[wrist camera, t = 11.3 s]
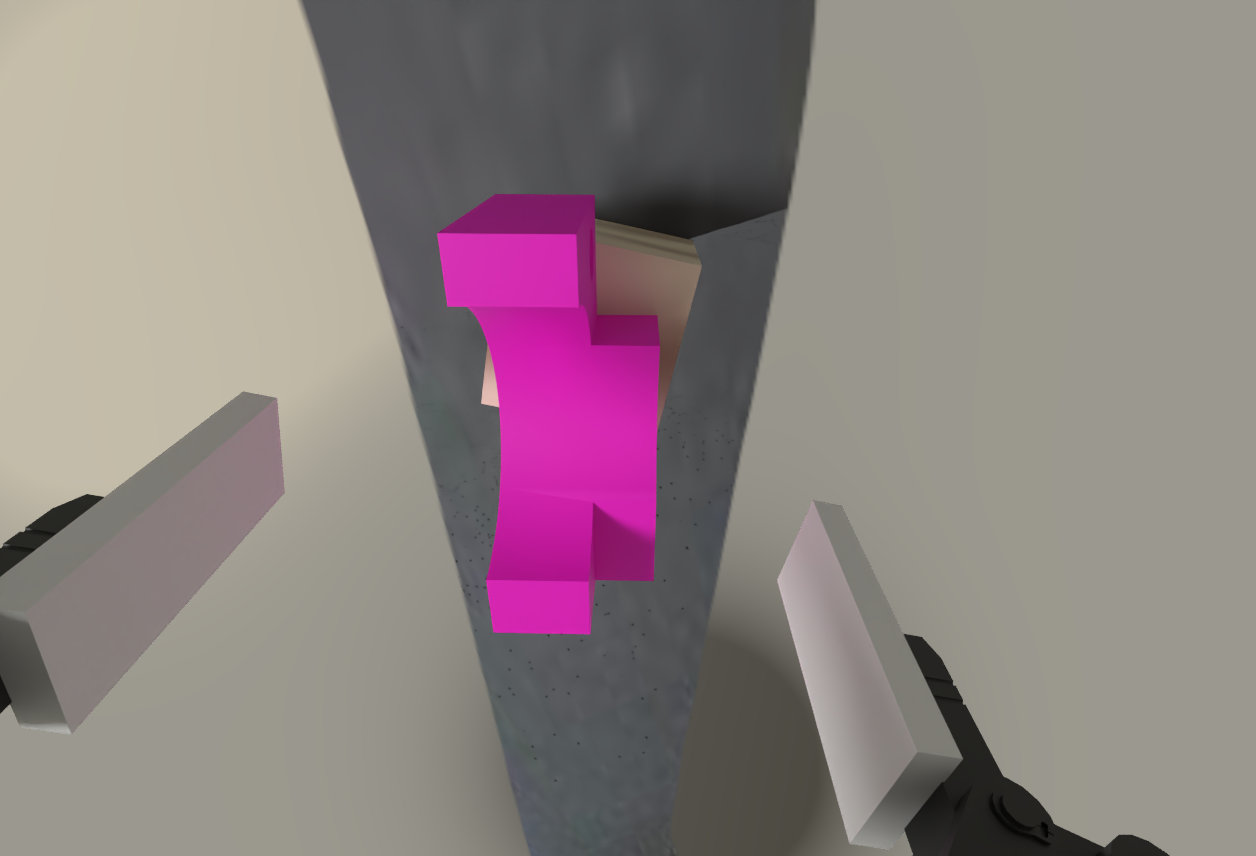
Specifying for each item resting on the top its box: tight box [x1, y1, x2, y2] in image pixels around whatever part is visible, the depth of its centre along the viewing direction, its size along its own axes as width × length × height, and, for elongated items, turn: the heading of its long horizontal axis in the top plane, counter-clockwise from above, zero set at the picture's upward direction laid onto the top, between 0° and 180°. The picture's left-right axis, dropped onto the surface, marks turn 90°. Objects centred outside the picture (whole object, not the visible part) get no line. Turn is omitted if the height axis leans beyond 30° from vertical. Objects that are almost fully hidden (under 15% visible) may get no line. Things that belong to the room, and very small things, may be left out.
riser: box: [481, 218, 702, 430], centre depth 28 cm, size 8×8×5 cm
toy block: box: [437, 194, 660, 634], centre depth 23 cm, size 15×6×8 cm, turn 0°
